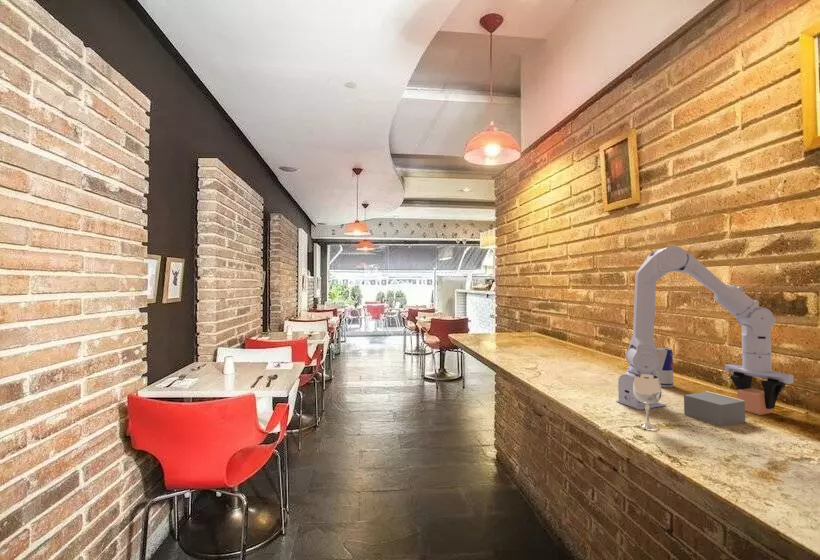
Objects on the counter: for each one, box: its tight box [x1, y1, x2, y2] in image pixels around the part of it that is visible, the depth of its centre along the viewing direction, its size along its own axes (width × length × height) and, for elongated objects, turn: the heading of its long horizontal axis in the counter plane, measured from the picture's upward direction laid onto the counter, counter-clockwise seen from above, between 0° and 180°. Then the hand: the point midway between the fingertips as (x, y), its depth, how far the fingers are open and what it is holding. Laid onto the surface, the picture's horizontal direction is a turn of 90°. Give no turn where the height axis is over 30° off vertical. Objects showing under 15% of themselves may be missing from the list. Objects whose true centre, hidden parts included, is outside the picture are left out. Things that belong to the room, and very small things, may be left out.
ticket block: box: [683, 390, 746, 427], centre depth 99 cm, size 8×9×5 cm
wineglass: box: [633, 374, 663, 429], centre depth 93 cm, size 6×6×12 cm
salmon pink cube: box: [736, 387, 774, 416], centre depth 103 cm, size 5×5×5 cm
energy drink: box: [656, 346, 674, 389], centre depth 129 cm, size 5×5×12 cm
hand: (757, 405), depth 103 cm, fingers closed on salmon pink cube, 5 cm apart
